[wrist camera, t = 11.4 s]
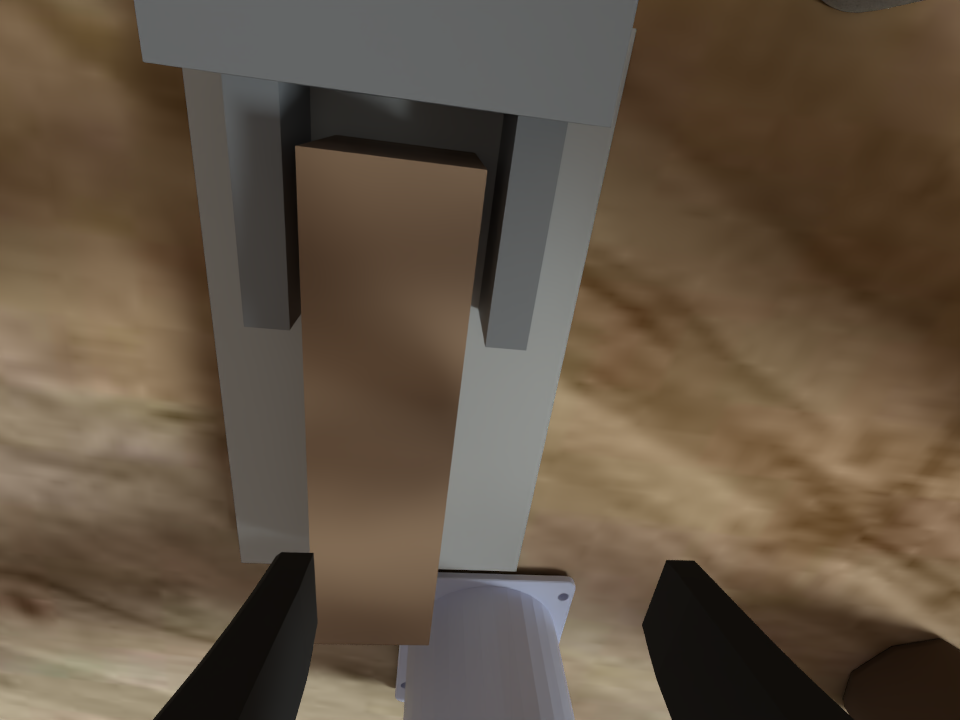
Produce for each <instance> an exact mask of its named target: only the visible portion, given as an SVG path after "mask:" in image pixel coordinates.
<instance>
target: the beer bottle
mask: <svg viewBox="0 0 960 720" xmlns="http://www.w3.org/2000/svg"><path fill="white" fill-rule="evenodd" d="M843 701H844V707H845V708H846V710H847V712H848V713H849V715H850V716H851V717H852V718H853V719H854V720H960V650H958V649H956V648H955V647H953V646H952V645H950V644H949V643H947V642H945V641H943V640H941V639H935V640H929V641H922V642H916V643H910V644H904V645H897V646H892V647H890V648H889V649H887V650H885V651H884V652H882V653H881V654H879V655H878V656H876V657H874V658H873V659H871V660H870V661H868V662H867V663H865V664H863V665H862V666H860V667H859V668H857V669H856V670H854V671H852V672H851V675H850V678H849V682H848V685H847V688H846V691H845V694H844V697H843Z"/></svg>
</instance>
